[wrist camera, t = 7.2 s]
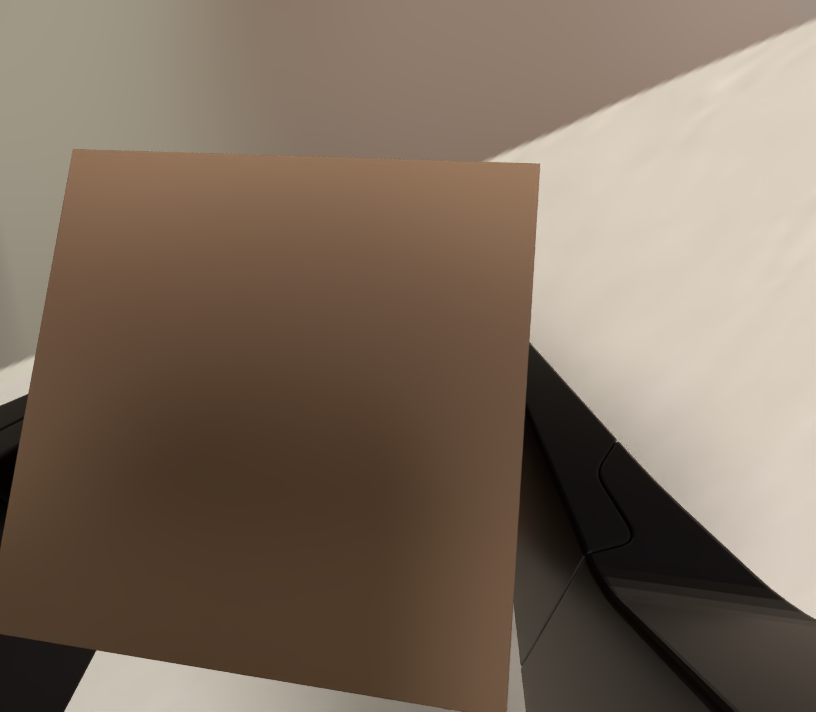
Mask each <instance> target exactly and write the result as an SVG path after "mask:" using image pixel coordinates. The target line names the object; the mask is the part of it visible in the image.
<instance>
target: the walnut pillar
mask: <svg viewBox="0 0 816 712" xmlns="http://www.w3.org/2000/svg"><path fill="white" fill-rule="evenodd" d="M539 174H540V164H533V163H501V162H469V161H437V160H435V161H434V160H405V159H404V160H402V159H373V158H372V159H371V158H339V157H309V156H277V155H244V154H213V153H180V152H149V151H116V150H84V149H73V151H72V157H71V163H70V168H69V174H68V179H67V185H66V190H65V195H64V201H63V207H62V212H61V217H60V223H59V229H58V234H57V240H56V246H55V251H54V256H53V262H52V267H51V273H50V278H49V283H48V289H47V294H46V300H45V306H44V311H43V316H42V322H41V328H40V333H39V338H38V344H37V349H36V355H35V360H34V366H33V371H32V377H31V383H30V388H29V393H28V399H27V405H26V410H25V416H24V421H23V427H22V432H21V438H20V443H19V449H18V454H17V460H16V465H15V471H14V476H13V482H12V487H11V493H10V498H9V504H8V509H7V515H6V520H5V526H4V531H3V537H2V542H1V548H0V634H3V635H9V636H15V637H21V638H27V639H33V640H39V641H45V642H51V643H57V644H63V645H69V646H75V647H80V648H86V649H92V650H98V651H104V652H110V653H116V654H122V655H128V656H134V657H140V658H146V659H152V660H158V661H164V662H170V663H176V664H182V665H188V666H194V667H200V668H206V669H212V670H218V671H224V672H230V673H236V674H242V675H248V676H253V677H259V678H265V679H271V680H277V681H283V682H289V683H295V684H301V685H307V686H313V687H319V688H325V689H331V690H337V691H343V692H349V693H355V694H361V695H367V696H373V697H379V698H385V699H391V700H397V701H403V702H409V703H415V704H421V705H426V706H432V707H438V708H444V709H450V710H456V711H462V712H507V697H508V680H509V664H510V648H511V631H512V615H513V599H514V582H515V566H516V550H517V533H518V517H519V501H520V484H521V468H522V452H523V436H524V419H525V403H526V387H527V370H528V354H529V338H530V321H531V305H532V289H533V272H534V256H535V240H536V223H537V207H538V191H539Z"/></svg>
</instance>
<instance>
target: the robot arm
mask: <svg viewBox="0 0 816 712" xmlns="http://www.w3.org/2000/svg"><path fill="white" fill-rule="evenodd" d="M27 399H28V394H27V395H25V396H22V397H20V398H18V399H15V400H13V401H10V402H8V403H6V404H3V405H1V406H0V548H1V542H2V537H3V531H4V526H5V520H6V515H7V509H8V504H9V498H10V493H11V487H12V482H13V476H14V471H15V465H16V460H17V454H18V449H19V443H20V438H21V432H22V427H23V421H24V416H25V410H26V405H27ZM616 441H617V440H616V438H615V437H614V436H613V435H612V433H611V432H610V431H609V430H608V429H607V428H606V427H605V426H604V425H603V423H602V422H601V421H600V420H599V419H598V418H597V417H596V416H595V415H594V413H593V412H592V411H591V410H590V409H589V408H588V407H587V406H586V405H585V403H584V402H583V401H582V400H581V399H580V398H579V397H578V396H577V395H576V393H575V392H574V391H573V390H572V389H571V388H570V387H569V386H568V385H567V383H566V382H565V381H564V380H563V379H562V378H561V377H560V376H559V375H558V373H557V372H556V371H555V370H554V369H553V368H552V367H551V366H550V364H549V363H548V362H547V361H546V360H545V359H544V358H543V357H542V356H541V354H540V353H539V352H538V351H537V350H536V349H535V348H534V347H533V346H532V344H531V343H530V342H529V354H528V370H527V387H526V403H525V419H524V436H523V452H522V468H521V484H520V501H519V517H518V533H517V550H516V566H515V582H514V599H513V603H514V611H515V620H516V629H517V637H518V646H519V655H520V663H521V666H522V668H521V673H522V682H523V690H524V699H525V708H526V712H816V619H814V618H812V617H811V616H809V615H807V614H805V613H804V612H802V611H801V610H799V609H798V608H797V607H795V606H794V605H792V604H791V603H789V602H788V601H786V600H785V599H784V598H783V597H781V596H780V595H779V594H777V593H776V592H775V591H773V590H772V589H771V588H770V587H769V586H768V585H766V584H765V583H764V582H763V581H762V580H761V579H760V578H758V577H757V576H756V575H755V574H754V573H753V572H752V571H751V570H750V569H749V568H748V567H746V566H745V565H744V564H743V563H742V562H741V561H740V560H739V559H738V558H737V557H736V556H735V555H734V554H732V553H731V552H730V551H729V550H728V549H727V548H726V547H725V546H724V545H723V544H722V543H721V542H720V541H718V540H717V539H716V538H715V537H714V536H713V535H712V534H711V533H710V532H709V531H708V530H707V529H706V528H704V527H703V526H702V525H701V524H700V523H699V522H698V521H697V520H696V519H695V518H694V517H693V516H692V515H691V514H689V513H688V512H687V511H686V510H685V509H684V508H683V507H682V506H681V505H680V504H679V503H678V502H677V501H676V500H675V499H674V498H673V497H672V496H671V495H670V494H669V493H667V492H666V491H665V490H664V489H663V488H662V487H661V486H660V485H659V484H658V483H657V482H656V481H655V480H654V479H653V478H652V477H651V476H650V475H649V474H648V472H647V471H646V470H645V469H644V468H643V467H642V466H641V465H640V464H639V463H638V462H637V461H636V460H635V459H634V458H633V457H632V455H631V454H630V453H629V452H628V451H627V450H626V449H625V448H624V447H623V445H622V444H621V443H620V442H616ZM95 652H96V650H92V649H86V648H80V647H75V646H69V645H63V644H57V643H51V642H45V641H39V640H33V639H27V638H21V637H15V636H9V635H3V634H0V712H64V711H65V709H66V707H67V705H68V703H69V701H70V700H71V698H72V696H73V694H74V692H75V690H76V688H77V686H78V684H79V682H80V681H81V679H82V677H83V675H84V673H85V671H86V669H87V667H88V665H89V663H90V661H91V660H92V658H93V656H94V654H95Z"/></svg>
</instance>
